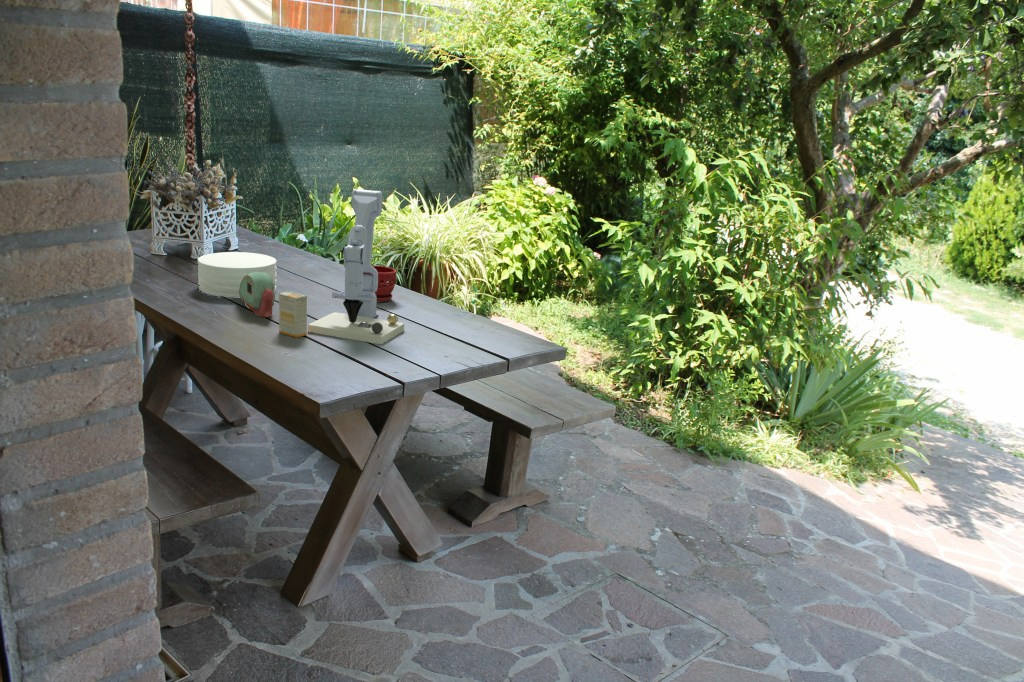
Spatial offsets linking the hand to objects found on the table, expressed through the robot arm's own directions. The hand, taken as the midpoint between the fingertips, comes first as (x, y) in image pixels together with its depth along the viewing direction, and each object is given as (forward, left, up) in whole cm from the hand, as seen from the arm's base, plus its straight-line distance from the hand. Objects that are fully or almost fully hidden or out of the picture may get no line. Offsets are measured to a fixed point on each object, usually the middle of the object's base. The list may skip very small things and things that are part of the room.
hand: (352, 321), depth 283 cm
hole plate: (0, +2, -3) cm, 3 cm away
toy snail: (-4, -38, -3) cm, 38 cm away
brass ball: (-6, +12, +1) cm, 13 cm away
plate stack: (-26, -61, -3) cm, 66 cm away
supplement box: (+13, -14, -3) cm, 20 cm away
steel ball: (-1, +4, -1) cm, 4 cm away
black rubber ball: (+6, +12, +1) cm, 13 cm away
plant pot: (-42, -10, -3) cm, 43 cm away
